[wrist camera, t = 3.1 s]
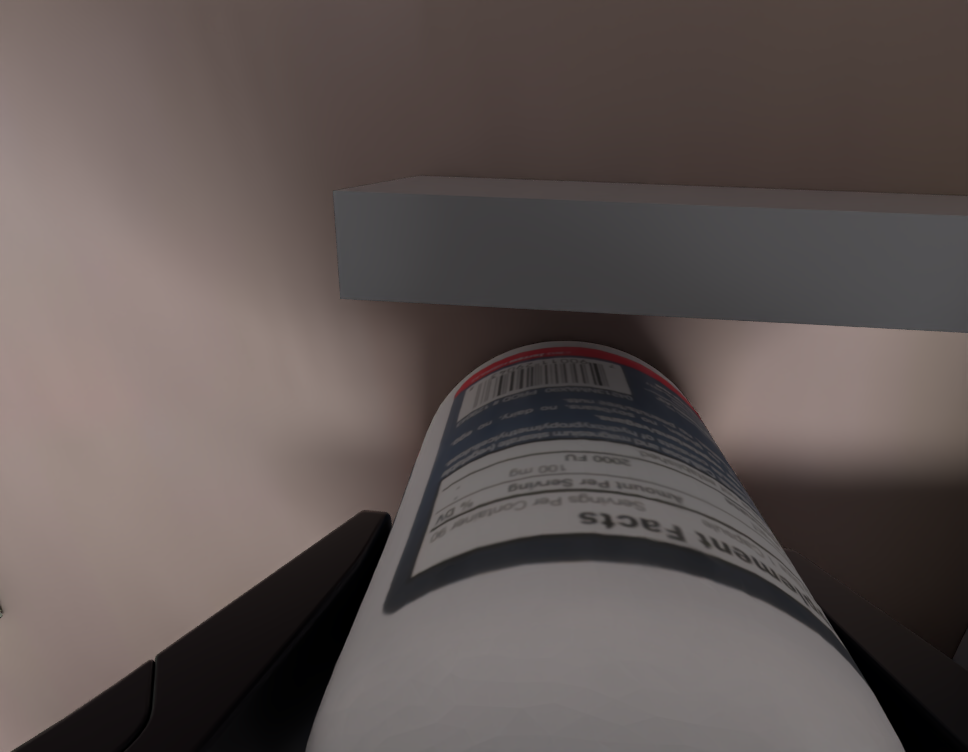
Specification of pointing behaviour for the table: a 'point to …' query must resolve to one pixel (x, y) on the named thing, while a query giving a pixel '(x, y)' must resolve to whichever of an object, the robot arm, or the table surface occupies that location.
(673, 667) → the pill bottle
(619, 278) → the dock
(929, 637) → the table surface
